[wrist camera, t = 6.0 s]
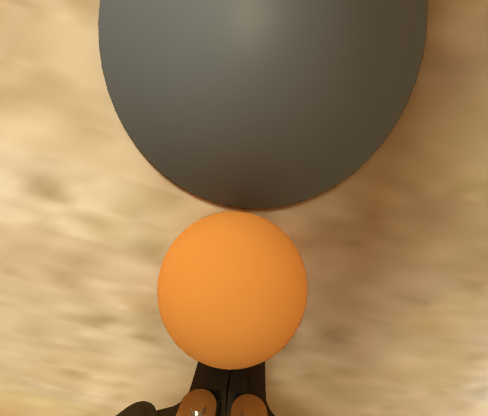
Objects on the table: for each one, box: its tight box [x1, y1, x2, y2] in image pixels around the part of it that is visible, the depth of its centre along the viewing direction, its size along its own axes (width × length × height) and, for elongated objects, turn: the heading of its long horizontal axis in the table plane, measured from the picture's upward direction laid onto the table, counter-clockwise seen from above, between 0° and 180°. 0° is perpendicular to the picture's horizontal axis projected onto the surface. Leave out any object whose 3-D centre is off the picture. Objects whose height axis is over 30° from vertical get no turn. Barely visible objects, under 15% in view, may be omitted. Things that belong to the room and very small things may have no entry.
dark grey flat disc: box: [98, 0, 427, 208], centre depth 10 cm, size 14×14×1 cm
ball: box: [157, 211, 307, 370], centre depth 10 cm, size 6×6×6 cm
